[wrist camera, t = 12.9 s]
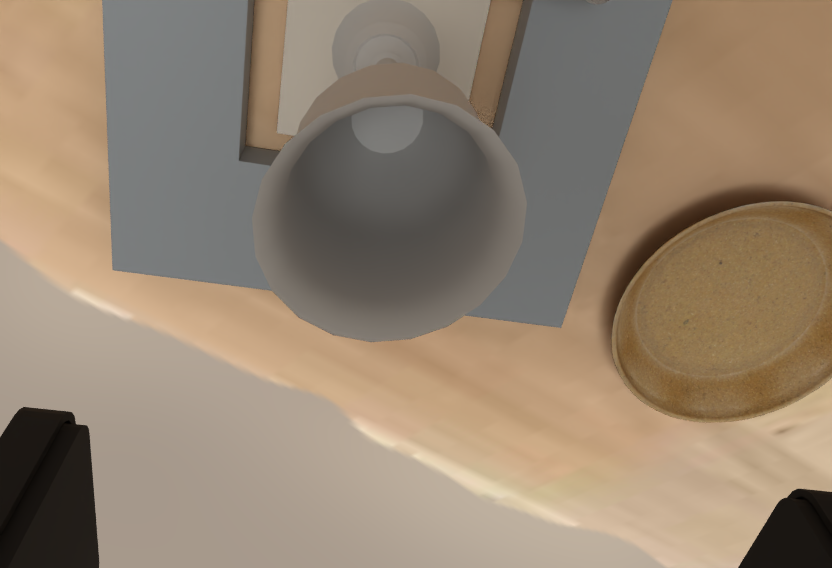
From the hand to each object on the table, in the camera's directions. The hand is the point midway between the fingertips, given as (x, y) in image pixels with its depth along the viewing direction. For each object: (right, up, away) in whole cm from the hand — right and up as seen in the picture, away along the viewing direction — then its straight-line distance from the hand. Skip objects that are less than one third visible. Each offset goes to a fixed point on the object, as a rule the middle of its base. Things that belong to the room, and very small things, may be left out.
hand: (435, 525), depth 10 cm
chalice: (-2, +14, +24) cm, 28 cm away
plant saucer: (+18, +3, +33) cm, 38 cm away
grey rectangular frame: (-3, +11, +26) cm, 29 cm away
